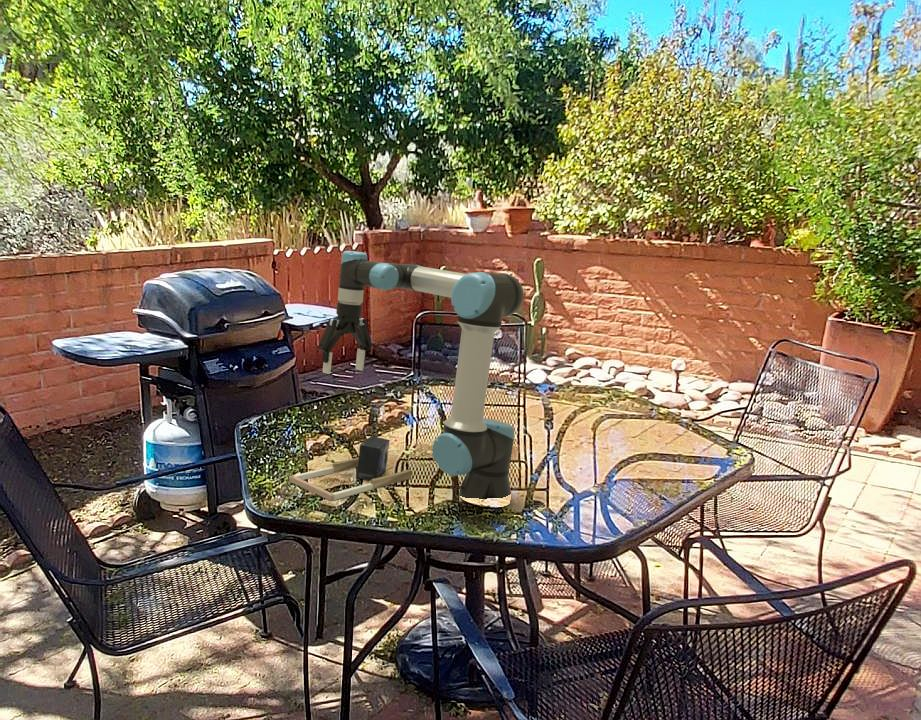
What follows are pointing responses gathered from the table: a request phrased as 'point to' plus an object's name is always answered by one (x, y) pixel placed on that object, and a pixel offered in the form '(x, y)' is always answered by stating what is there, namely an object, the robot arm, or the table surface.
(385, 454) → the small box
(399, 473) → the wooden rail pair
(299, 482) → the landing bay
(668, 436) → the table surface
